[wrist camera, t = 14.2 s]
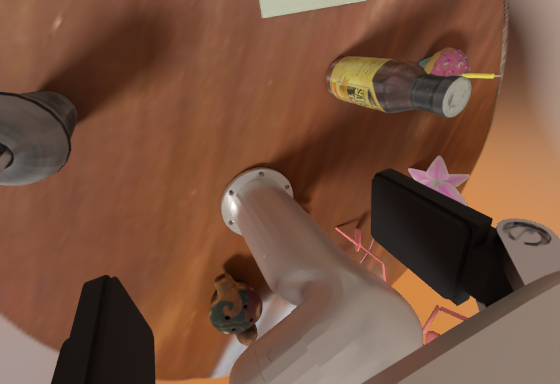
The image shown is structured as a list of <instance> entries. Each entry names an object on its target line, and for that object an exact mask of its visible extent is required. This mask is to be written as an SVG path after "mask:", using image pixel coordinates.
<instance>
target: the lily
mask: <svg viewBox="0 0 560 384" xmlns="http://www.w3.org/2000/svg"><path fill="white" fill-rule="evenodd" d="M408 171H409V173H410V174H411V176H412V177H413V178H414V180H416V181H418V182H420V183H422V184H424V185H426V186H428V187H430V188H432V189H434V190H436V191H438V192H440V193H442V194H444V195H446V196H448V197H450V198H452V199H454V200H456V201H458V202H460V203H462V204H464V205H466V206H467V203H466V201H465V200H464V198H463V197H462V196H461V194H460V193H459V191H458V190H457V189H456V188H455V187H457V186H459V185H460V184H462V183H463V182H465V181H466V180H467V179H468V178H469V177H470V175H468V174H448V171H447V168H446V165H445V163H444V160H443V158H442V157H441V156H437V157H436V158H435V160H434V161H433V162H432V164H431V165H430V167H429V168H428V170H427V172H425V171H421V170H417V169H411V168H409V169H408Z"/></svg>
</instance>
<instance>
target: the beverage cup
mask: <svg viewBox="0 0 560 384" xmlns="http://www.w3.org/2000/svg"><path fill="white" fill-rule="evenodd" d="M77 118H78V116H77V110H76V108H75V106H74V104H73V103H72V102H71V101H70V100H69V99H68V98H66V97H65V96H64V95H62V94H59V93H56V92H52V91H37V92H30V93H22V94H14V93H6V92H0V185H26V184H30V183H34V182H39V181H41V180H43V179H45V178H47V177H49V176H51V175H52V174H54V173H56V172H58V171H59V170H60V169H61V168H62V167H63V166H64V165H65V163H66V162H67V161H68V158H69V155H70V152H71V142H70V139H71V136H72V134H73V131H74V129H75V126H76V122H77Z"/></svg>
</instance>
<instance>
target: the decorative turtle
mask: <svg viewBox="0 0 560 384" xmlns="http://www.w3.org/2000/svg"><path fill="white" fill-rule="evenodd" d="M215 287H216V289H217V293H215V294H214V295H213V297H212V300H211V305H210V309H209V315H210V320H211V323H212V324H213V326H214V327H215V328H216V329H217V330H219V331H220V332H222V333H225V334H236V336H237V339H238V340H239V342H240V343H241V344H243V345H246V346H250V345H252V344H253V343H254V342H255V340H256V337H257V328H256V325H255V323H256V322H257V321H258V319H259V318H260V316H261V313H262V300H261V297H260V295H259V293H258V292H257V291H256V289H255V288H253V287H252V286H250V285H249V284H247V283H245V282H244V281H238V282H236V281H235V280H234V279H233V278H232V277H231V276H230V275H229V274H227V273H224V274H221V275H219V276H218V277H217V278H216V279H215Z"/></svg>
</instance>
